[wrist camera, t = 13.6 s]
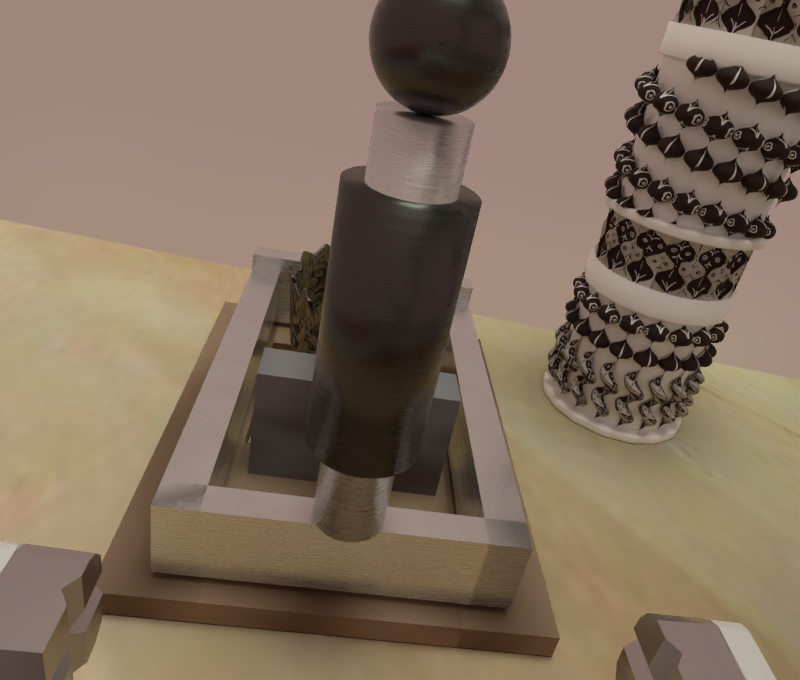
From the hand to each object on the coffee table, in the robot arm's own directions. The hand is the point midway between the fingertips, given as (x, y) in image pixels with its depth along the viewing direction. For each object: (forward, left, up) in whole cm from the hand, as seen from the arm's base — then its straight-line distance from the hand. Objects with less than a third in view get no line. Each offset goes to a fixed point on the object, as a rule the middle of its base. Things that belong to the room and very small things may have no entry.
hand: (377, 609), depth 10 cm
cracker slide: (0, -18, -10) cm, 21 cm away
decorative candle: (-16, -26, -12) cm, 33 cm away
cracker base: (0, -19, -12) cm, 22 cm away
